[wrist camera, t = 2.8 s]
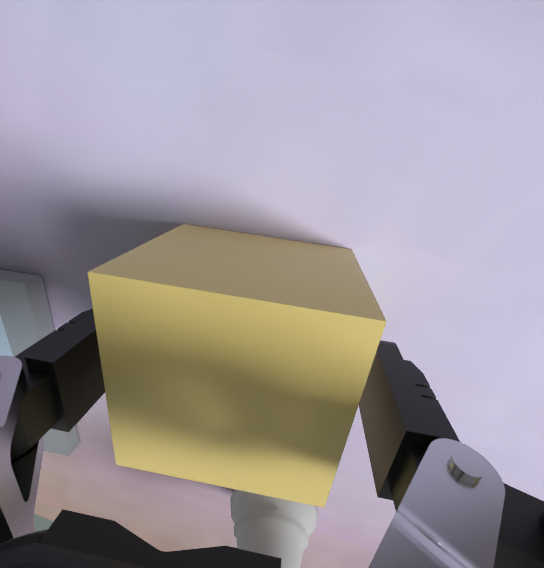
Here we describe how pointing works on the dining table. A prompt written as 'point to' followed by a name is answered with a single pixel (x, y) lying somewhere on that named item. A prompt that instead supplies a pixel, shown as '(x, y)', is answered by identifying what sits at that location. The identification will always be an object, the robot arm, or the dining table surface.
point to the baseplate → (29, 334)
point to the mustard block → (235, 358)
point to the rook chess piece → (272, 526)
